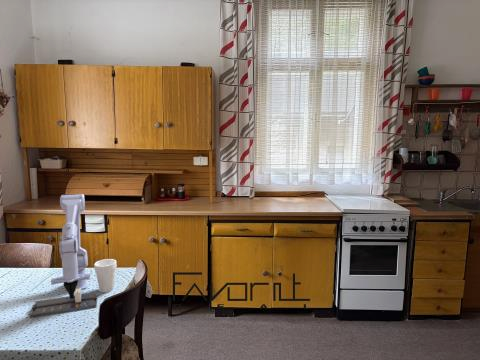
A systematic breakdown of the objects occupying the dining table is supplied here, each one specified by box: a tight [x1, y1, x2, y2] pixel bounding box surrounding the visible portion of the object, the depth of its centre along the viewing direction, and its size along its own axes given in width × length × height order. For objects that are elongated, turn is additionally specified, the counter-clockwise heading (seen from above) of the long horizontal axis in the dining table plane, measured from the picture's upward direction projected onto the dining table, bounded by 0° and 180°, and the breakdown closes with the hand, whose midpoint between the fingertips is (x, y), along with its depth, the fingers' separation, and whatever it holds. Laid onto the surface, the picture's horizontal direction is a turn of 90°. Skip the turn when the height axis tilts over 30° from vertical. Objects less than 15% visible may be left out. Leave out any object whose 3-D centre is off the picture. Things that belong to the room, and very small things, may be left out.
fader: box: [74, 288, 82, 303], centre depth 143 cm, size 5×2×4 cm, turn 21°
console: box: [29, 291, 98, 319], centre depth 142 cm, size 12×24×2 cm, turn 111°
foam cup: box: [94, 258, 118, 293], centre depth 156 cm, size 10×9×13 cm
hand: (72, 297), depth 142 cm, fingers closed
